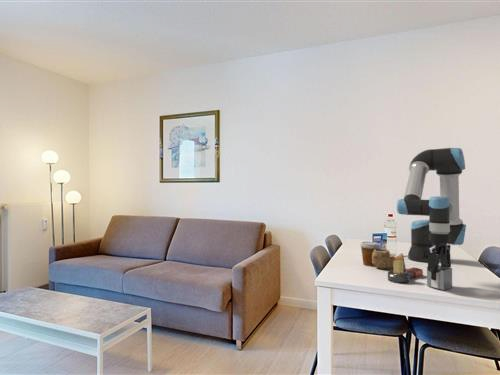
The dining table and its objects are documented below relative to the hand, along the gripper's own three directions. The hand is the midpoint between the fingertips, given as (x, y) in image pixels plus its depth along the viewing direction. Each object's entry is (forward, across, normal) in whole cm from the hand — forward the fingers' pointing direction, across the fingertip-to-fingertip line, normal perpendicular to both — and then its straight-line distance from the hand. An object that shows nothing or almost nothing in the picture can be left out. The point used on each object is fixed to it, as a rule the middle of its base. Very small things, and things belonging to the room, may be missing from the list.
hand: (439, 285), depth 129 cm
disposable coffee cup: (+1, -6, -40) cm, 40 cm away
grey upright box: (0, 0, 0) cm, 0 cm away
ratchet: (+1, 0, -15) cm, 15 cm away
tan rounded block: (+1, -7, -29) cm, 30 cm away
